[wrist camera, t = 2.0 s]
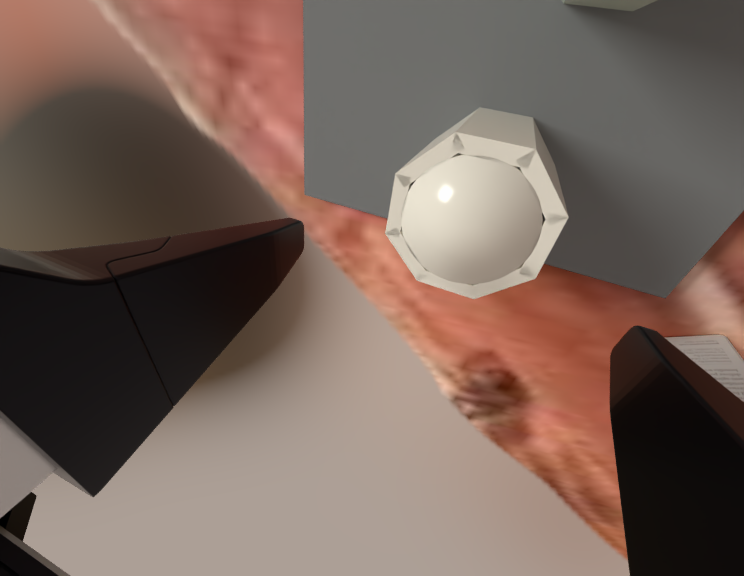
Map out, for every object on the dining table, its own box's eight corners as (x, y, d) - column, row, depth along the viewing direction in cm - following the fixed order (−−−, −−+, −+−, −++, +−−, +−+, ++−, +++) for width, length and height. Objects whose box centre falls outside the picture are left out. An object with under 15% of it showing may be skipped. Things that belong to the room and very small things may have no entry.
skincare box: (722, 405, 20) (878, 683, 11) (636, 402, 23) (710, 634, 13) (729, 330, 18) (937, 610, 9) (631, 335, 20) (718, 563, 11)
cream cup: (572, 125, 15) (598, 162, 9) (519, 239, 18) (516, 313, 13) (444, 100, 16) (403, 120, 11) (419, 212, 20) (379, 268, 14)
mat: (1211, -359, 7) (1295, -410, 6) (659, 288, 18) (665, 298, 17) (315, -285, 12) (301, -309, 11) (311, 190, 23) (304, 194, 22)
